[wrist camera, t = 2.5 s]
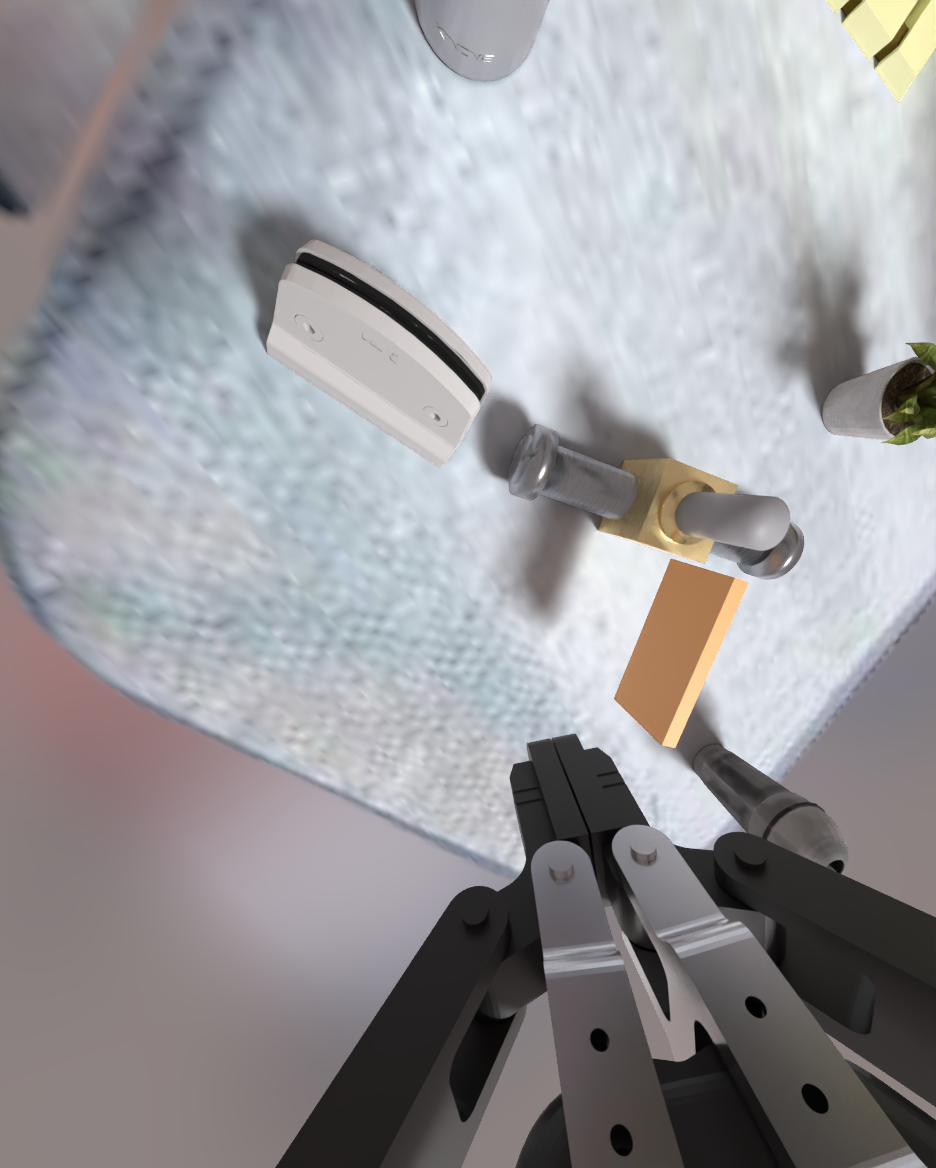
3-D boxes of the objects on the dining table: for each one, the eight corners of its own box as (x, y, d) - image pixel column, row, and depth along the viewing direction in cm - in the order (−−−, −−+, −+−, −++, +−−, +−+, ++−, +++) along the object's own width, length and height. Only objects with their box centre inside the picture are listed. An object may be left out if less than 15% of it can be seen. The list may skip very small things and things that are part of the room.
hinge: (262, 350, 35) (250, 255, 26) (294, 306, 36) (294, 199, 27) (443, 470, 40) (488, 427, 30) (466, 428, 41) (517, 373, 32)
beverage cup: (727, 723, 53) (923, 864, 34) (743, 767, 55) (935, 924, 36) (675, 753, 53) (843, 914, 34) (692, 797, 55) (860, 971, 36)
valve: (524, 421, 40) (556, 410, 33) (765, 514, 47) (834, 522, 40) (499, 497, 41) (524, 503, 34) (738, 577, 48) (800, 595, 41)
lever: (685, 485, 36) (757, 489, 29) (721, 499, 37) (798, 505, 30) (601, 695, 39) (648, 742, 32) (636, 703, 40) (688, 750, 33)
